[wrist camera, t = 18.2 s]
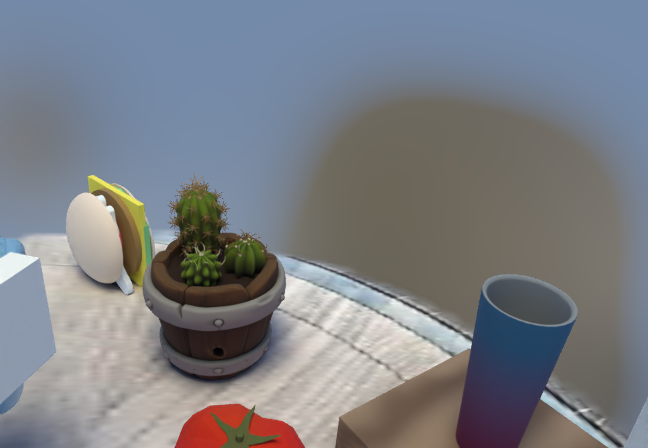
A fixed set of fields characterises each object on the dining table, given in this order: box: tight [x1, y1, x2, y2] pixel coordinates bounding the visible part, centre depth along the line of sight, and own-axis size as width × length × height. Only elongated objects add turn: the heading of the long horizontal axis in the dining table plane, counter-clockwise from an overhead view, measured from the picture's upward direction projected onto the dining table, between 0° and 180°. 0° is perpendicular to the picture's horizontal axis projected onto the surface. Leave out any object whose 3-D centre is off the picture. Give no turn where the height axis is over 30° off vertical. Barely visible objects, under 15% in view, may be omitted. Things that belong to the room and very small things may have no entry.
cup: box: [456, 274, 578, 448], centre depth 42 cm, size 7×7×15 cm
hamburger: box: [66, 175, 155, 295], centre depth 68 cm, size 12×8×12 cm
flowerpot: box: [143, 176, 286, 379], centre depth 55 cm, size 14×15×20 cm
